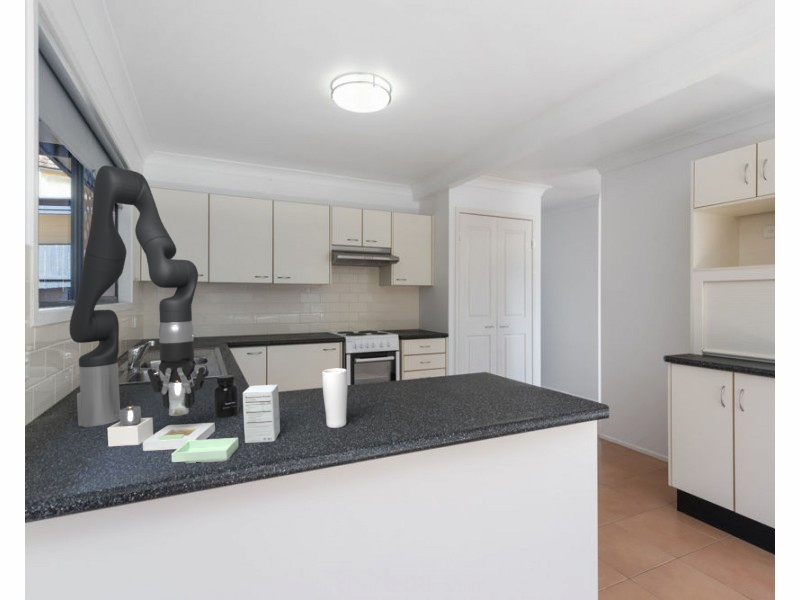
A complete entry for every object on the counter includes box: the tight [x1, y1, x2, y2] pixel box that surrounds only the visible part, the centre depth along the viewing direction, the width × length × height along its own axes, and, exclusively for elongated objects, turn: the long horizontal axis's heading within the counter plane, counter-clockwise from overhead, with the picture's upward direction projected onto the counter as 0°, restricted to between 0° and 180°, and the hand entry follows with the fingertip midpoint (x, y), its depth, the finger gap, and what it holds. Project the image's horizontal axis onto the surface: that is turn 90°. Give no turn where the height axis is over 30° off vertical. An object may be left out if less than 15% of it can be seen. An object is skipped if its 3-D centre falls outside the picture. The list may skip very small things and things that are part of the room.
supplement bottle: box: [213, 374, 240, 419], centre depth 124 cm, size 7×7×12 cm
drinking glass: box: [321, 367, 349, 429], centre depth 112 cm, size 7×7×15 cm
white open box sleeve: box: [107, 417, 154, 447], centre depth 104 cm, size 7×7×5 cm
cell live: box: [168, 380, 190, 417], centre depth 103 cm, size 4×4×9 cm
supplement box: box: [242, 384, 281, 444], centre depth 104 cm, size 7×7×13 cm
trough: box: [171, 437, 240, 464], centre depth 94 cm, size 12×8×2 cm
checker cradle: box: [142, 422, 216, 452], centre depth 103 cm, size 12×12×3 cm
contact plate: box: [170, 430, 195, 436], centre depth 103 cm, size 6×6×1 cm
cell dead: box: [119, 405, 142, 427], centre depth 104 cm, size 4×4×9 cm
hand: (179, 407), depth 103 cm, fingers closed on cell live, 4 cm apart
